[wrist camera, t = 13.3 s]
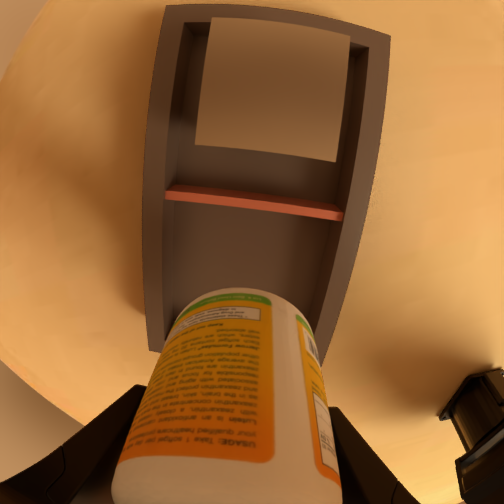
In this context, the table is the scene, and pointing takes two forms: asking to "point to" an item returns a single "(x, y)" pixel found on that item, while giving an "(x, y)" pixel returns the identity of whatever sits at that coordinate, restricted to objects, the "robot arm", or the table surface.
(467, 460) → the robot arm
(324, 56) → the walnut block
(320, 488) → the supplement bottle
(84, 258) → the table surface
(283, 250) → the tray
